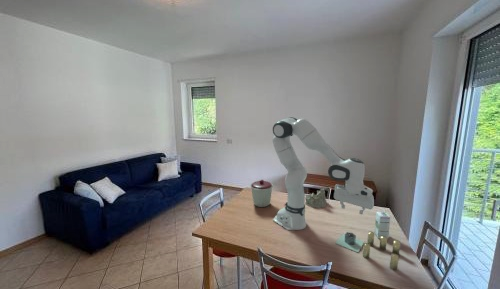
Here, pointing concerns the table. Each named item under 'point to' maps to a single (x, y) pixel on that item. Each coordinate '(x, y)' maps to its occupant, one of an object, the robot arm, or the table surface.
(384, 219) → the syrup box
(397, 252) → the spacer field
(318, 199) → the jagged green rock
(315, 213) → the table surface
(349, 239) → the hex nut
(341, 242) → the mat
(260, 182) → the canister
